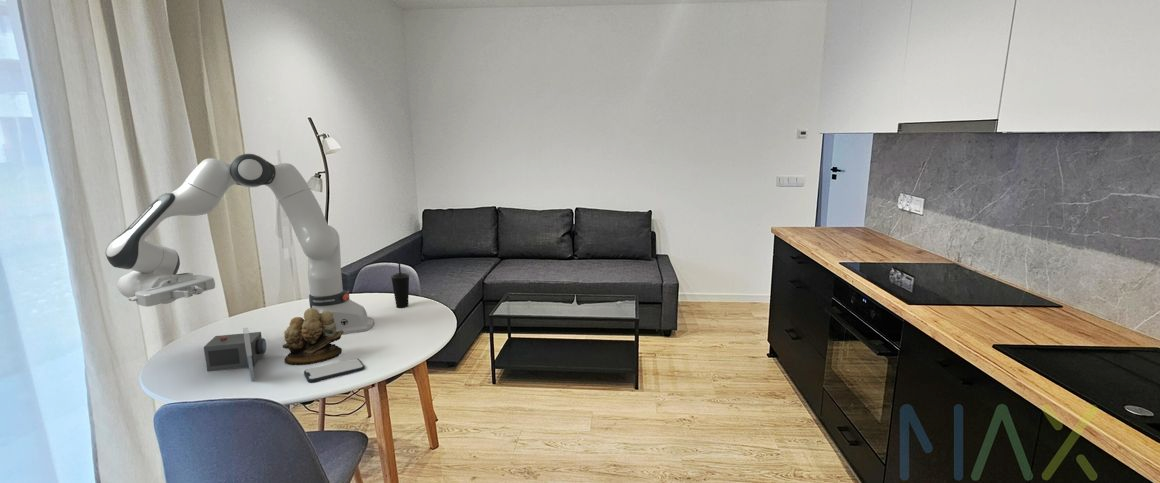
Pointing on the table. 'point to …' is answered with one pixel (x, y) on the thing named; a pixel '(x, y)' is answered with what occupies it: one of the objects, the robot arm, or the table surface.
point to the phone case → (333, 370)
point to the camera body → (233, 351)
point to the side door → (248, 352)
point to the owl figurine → (312, 338)
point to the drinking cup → (401, 288)
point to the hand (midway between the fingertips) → (194, 292)
